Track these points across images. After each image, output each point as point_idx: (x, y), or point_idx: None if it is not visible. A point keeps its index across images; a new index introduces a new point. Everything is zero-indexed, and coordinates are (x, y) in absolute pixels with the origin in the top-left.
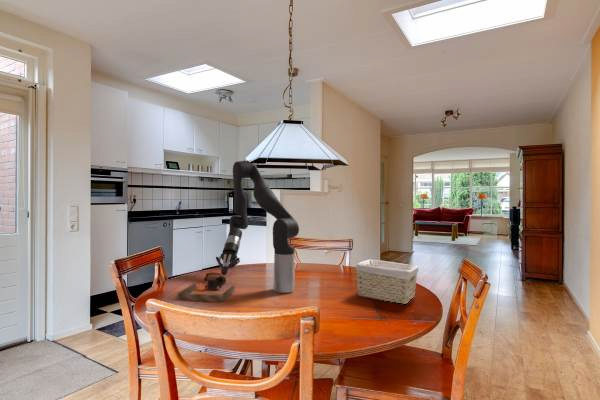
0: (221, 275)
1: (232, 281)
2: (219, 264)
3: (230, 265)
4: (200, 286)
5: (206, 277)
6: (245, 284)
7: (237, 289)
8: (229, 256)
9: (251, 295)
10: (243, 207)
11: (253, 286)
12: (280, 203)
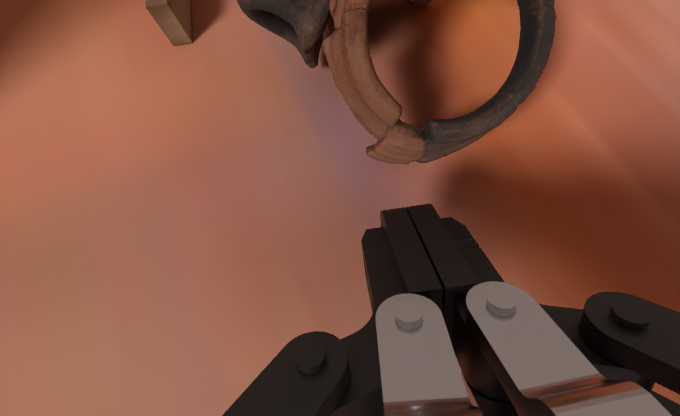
0: (348, 67)
1: None
2: (645, 303)
3: (311, 340)
4: None
5: (519, 9)
6: (138, 294)
7: (165, 103)
8: None
9: (16, 5)
10: None
11: (38, 247)
12: None
